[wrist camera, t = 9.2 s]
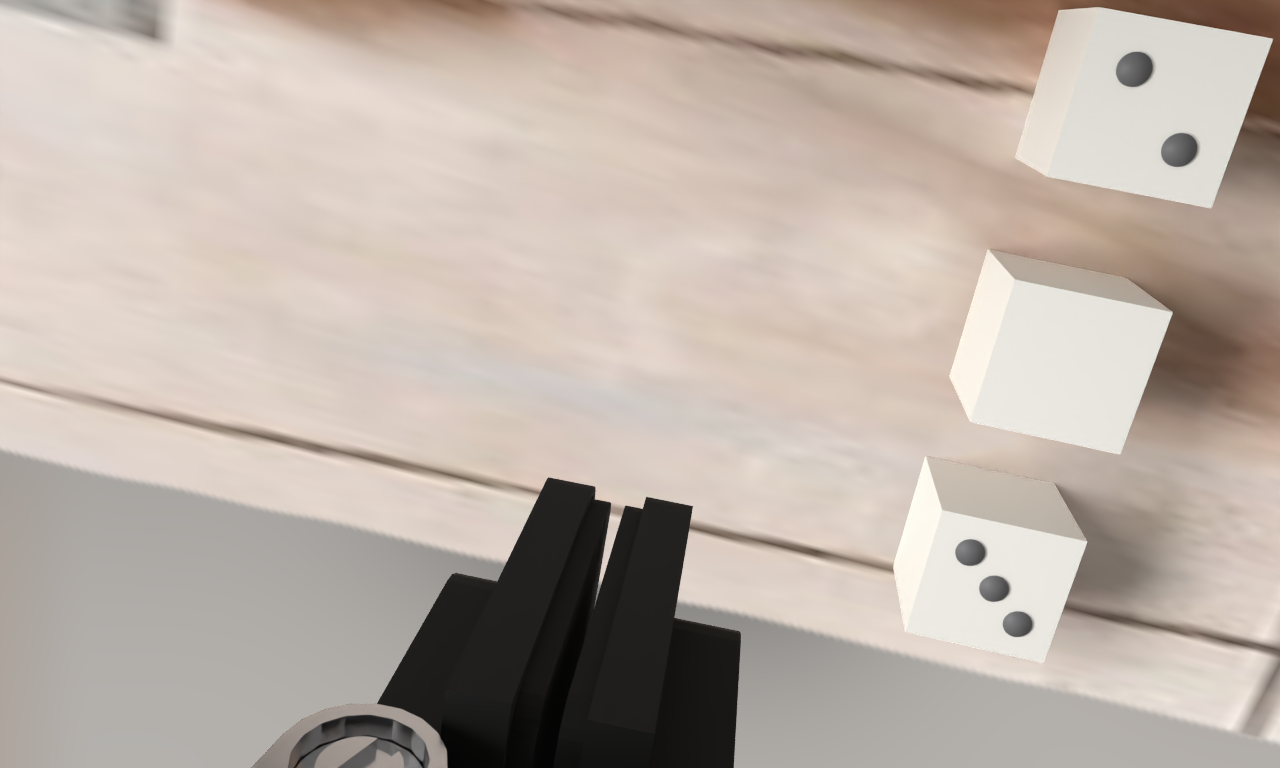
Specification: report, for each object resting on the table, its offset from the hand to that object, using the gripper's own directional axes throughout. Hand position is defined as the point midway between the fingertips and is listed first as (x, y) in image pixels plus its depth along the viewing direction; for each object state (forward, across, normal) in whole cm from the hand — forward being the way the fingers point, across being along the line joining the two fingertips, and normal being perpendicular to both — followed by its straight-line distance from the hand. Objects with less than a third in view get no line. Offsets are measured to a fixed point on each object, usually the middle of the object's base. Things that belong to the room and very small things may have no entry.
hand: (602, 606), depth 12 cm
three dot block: (+36, -14, +15) cm, 42 cm away
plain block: (+36, -15, +5) cm, 39 cm away
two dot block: (+36, -15, -5) cm, 40 cm away
